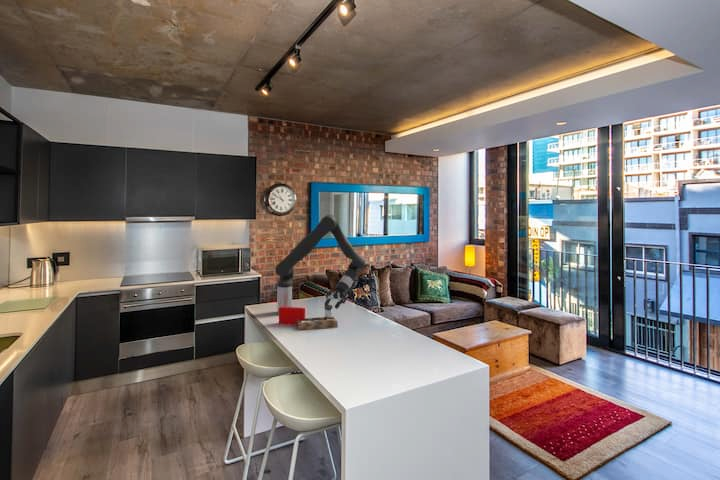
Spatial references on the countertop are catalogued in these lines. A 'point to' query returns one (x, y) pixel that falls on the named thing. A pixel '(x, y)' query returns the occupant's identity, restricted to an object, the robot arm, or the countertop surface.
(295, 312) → the play button
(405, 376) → the countertop surface
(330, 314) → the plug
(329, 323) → the socket bar
